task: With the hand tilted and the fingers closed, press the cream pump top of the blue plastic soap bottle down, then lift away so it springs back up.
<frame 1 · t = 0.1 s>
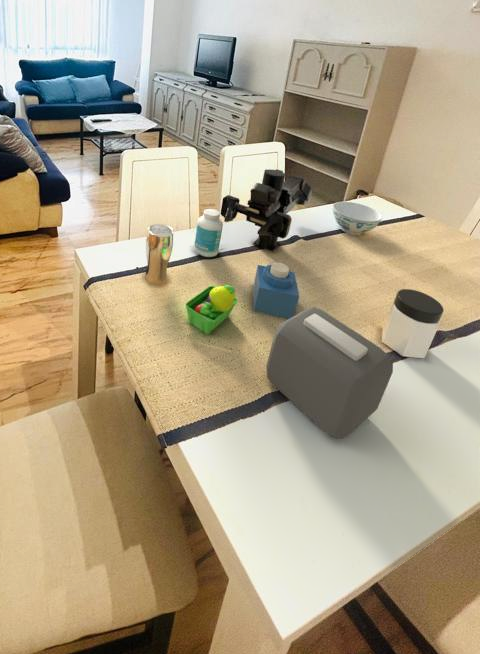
hand: (241, 226, 100), 17 cm above the table, tool horizontal, fingers open, 9 cm apart
jar: (401, 344, 86), on the table
alarm clock: (311, 399, 72), on the table
chinaware: (350, 230, 136), on the table
pump top: (279, 270, 94), point 10 cm above the table, slide at 0.1 cm
fruit basket: (211, 321, 90), on the table
pill bottle: (205, 252, 118), on the table
soap bottle: (271, 302, 98), on the table
beer glass: (155, 278, 104), on the table
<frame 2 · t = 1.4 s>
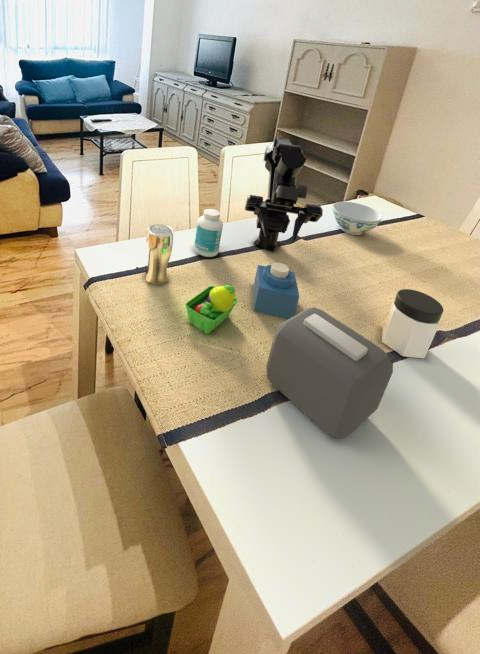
hand: (279, 238, 101), 14 cm above the table, tool tilted 45°, fingers open, 7 cm apart
nothing on the table moved.
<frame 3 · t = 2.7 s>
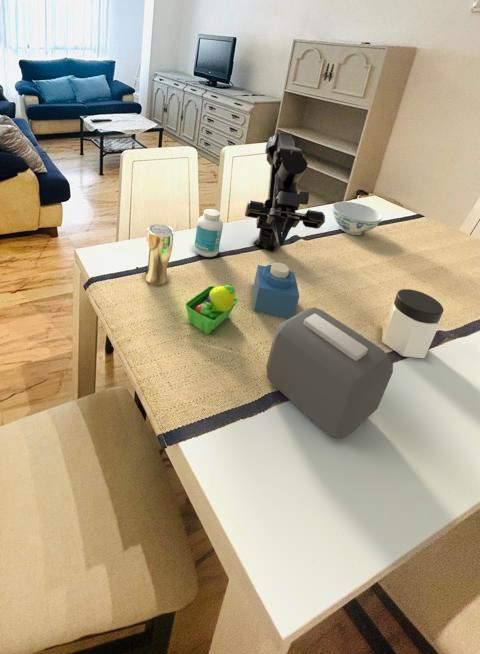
hand: (280, 245, 98), 13 cm above the table, tool tilted 45°, fingers closed
nothing on the table moved.
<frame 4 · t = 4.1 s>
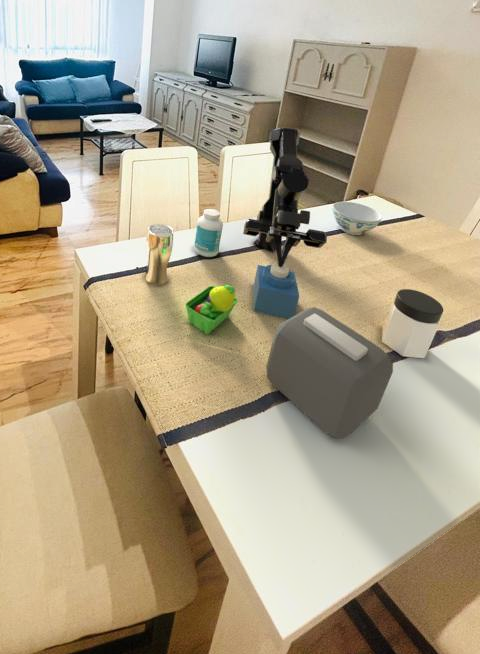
hand: (280, 266, 94), 11 cm above the table, tool tilted 45°, fingers closed, pressing on pump top
pump top: (279, 271, 94), point 9 cm above the table, slide at -0.1 cm, touching gripper
everything else where it was.
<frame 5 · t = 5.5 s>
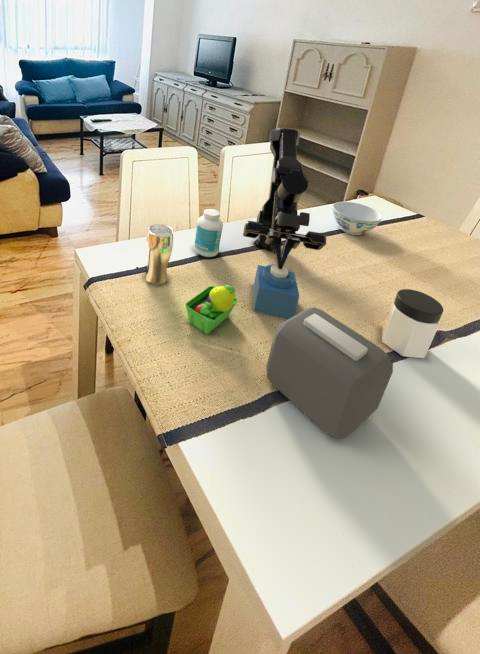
hand: (280, 268, 94), 10 cm above the table, tool tilted 45°, fingers closed, pressing on pump top
pump top: (279, 272, 94), point 9 cm above the table, slide at -0.6 cm, touching gripper
everything else where it was.
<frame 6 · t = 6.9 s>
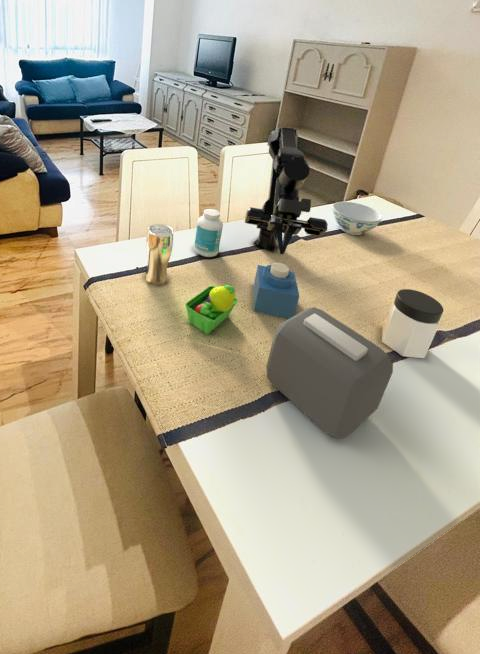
hand: (281, 254, 95), 13 cm above the table, tool tilted 45°, fingers closed
pump top: (279, 270, 94), point 10 cm above the table, slide at 0.1 cm
everything else where it was.
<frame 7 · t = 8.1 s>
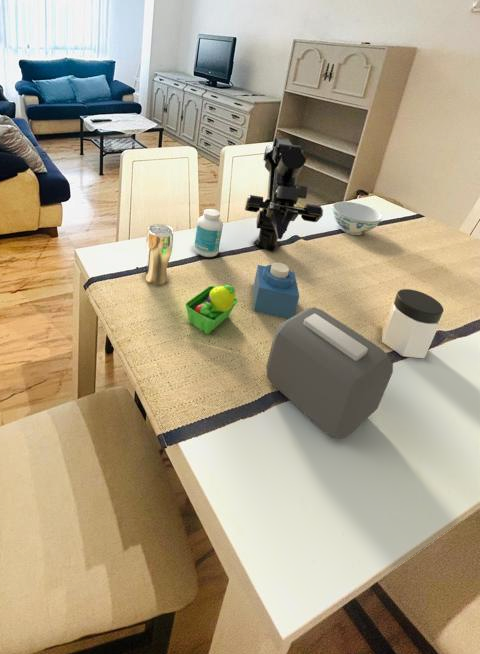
hand: (279, 238, 101), 14 cm above the table, tool tilted 45°, fingers closed
nothing on the table moved.
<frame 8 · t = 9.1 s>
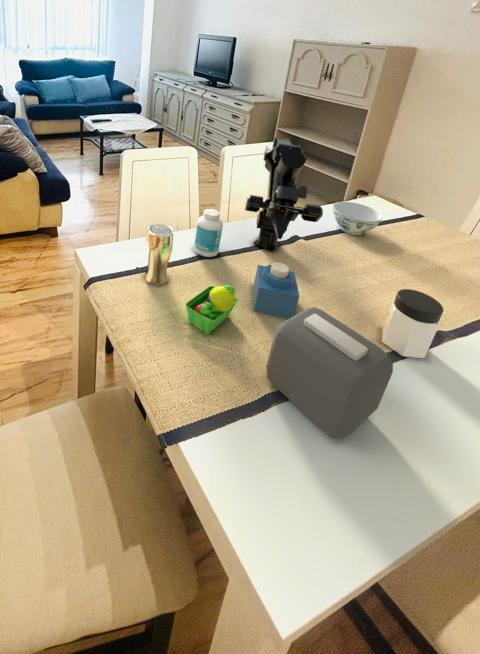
hand: (279, 238, 101), 14 cm above the table, tool tilted 45°, fingers closed
nothing on the table moved.
at the end: pump top pushed in 1.5 cm at the most during the clip, back to where it started at the end; pump top slide at 0.1 cm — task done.
